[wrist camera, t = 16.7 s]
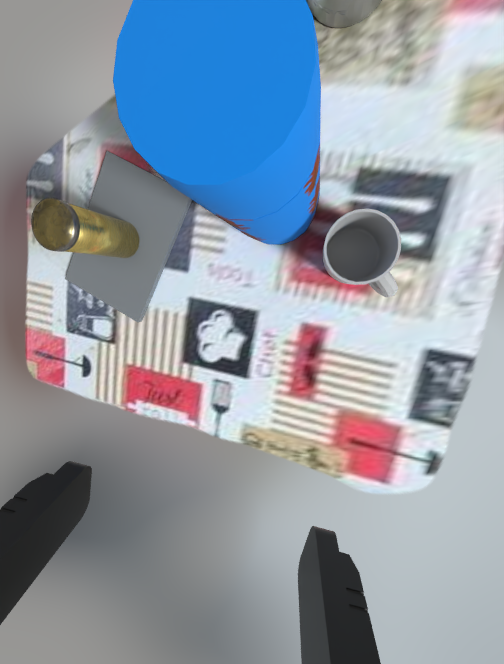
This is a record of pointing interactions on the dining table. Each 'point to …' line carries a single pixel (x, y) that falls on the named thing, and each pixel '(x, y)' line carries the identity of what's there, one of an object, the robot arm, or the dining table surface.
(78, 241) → the canister
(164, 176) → the thermos
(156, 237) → the slate board
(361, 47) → the dining table surface
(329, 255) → the cup
